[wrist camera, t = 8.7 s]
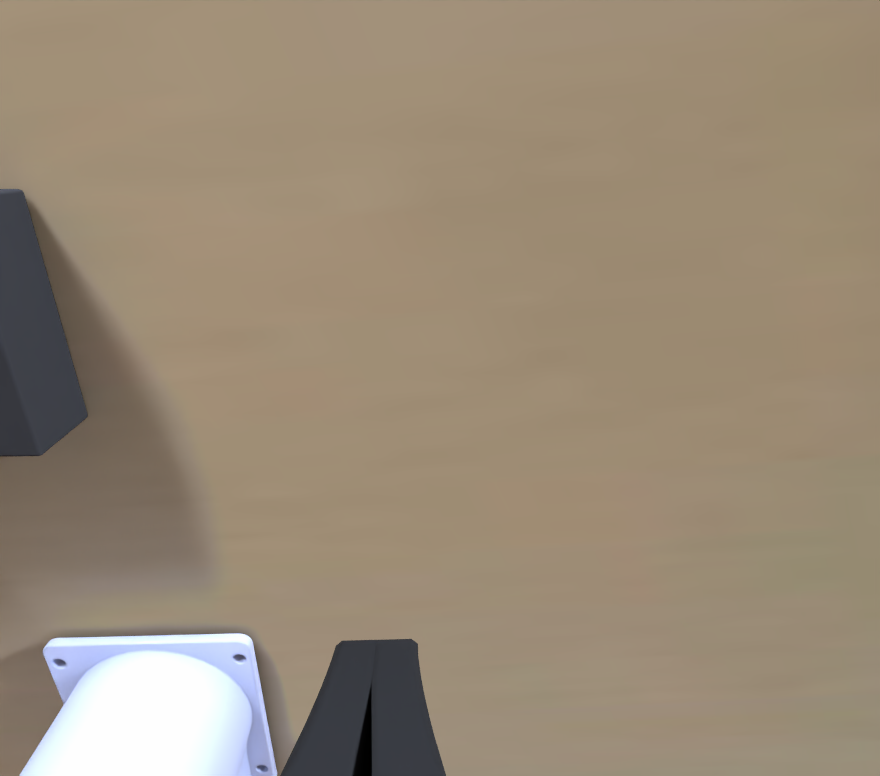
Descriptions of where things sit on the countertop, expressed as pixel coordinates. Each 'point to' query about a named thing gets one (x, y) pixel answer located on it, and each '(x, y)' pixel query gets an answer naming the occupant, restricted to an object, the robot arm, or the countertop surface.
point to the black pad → (31, 343)
